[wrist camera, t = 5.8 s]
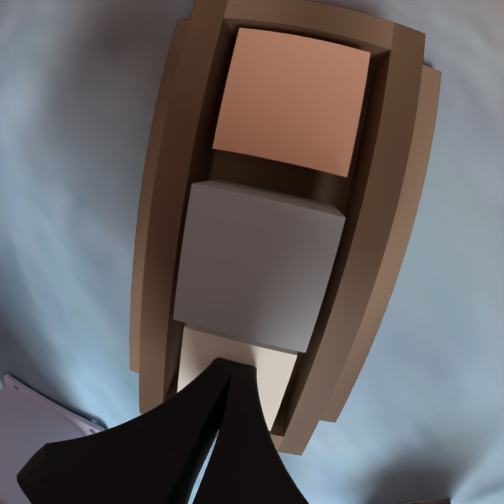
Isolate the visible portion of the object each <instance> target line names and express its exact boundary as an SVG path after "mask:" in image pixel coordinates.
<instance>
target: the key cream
mask: <svg viewBox="0 0 504 504" xmlns="http://www.w3.org/2000/svg"><path fill="white" fill-rule="evenodd" d="M297 353H298V351H295V350H290V349H285V348H281V347H277V346H272V345H268V344H264V343H259V342H255V341H251V340H247V339H243V338H239V337H235V336H231V335H227V334H224V333H220V332H216V331H212V330H209V329H205V328H201V327H198V326H194V325H191V324H186V325H185V326H184V332H183V340H182V349H181V358H180V368H179V378H178V389H177V392H179V391H180V390H181V389H183V388H184V387H185V386H186V385H188V384H189V383H190V382H191V381H192V380H194V379H195V378H196V377H197V376H198V375H199V374H200V373H201V372H203V371H204V370H205V369H206V368H207V367H208V366H209V364H210V363H211V362H212V361H213V360H214V359H215V358H217V357H220V358H224V359H227V360H231V361H235V362H239V363H243V364H247V365H251V366H255V368H256V369H257V386H258V392H259V398H260V402H261V406H262V410H263V414H264V418H265V421H266V424H267V427H268V430H269V431H271V428H272V426H273V423H274V420H275V418H276V415H277V412H278V410H279V407H280V404H281V401H282V399H283V396H284V393H285V390H286V387H287V384H288V382H289V379H290V376H291V373H292V370H293V367H294V364H295V361H296V358H297Z"/></svg>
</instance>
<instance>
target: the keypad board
mask: <svg viewBox="0 0 504 504" xmlns="http://www.w3.org/2000/svg"><path fill="white" fill-rule="evenodd" d="M239 28H247V29H256V30H264V31H272V32H279V33H285V34H291V35H297V36H302V37H308V38H313V39H318V40H322V41H327V42H331V43H335V44H340V45H344V46H348V47H351V48H355V49H359V50H362V51H366V52H369V53H370V59H369V66H368V72H367V78H366V84H365V90H364V96H363V102H362V107H361V112H360V118H359V123H358V128H357V133H356V138H355V143H354V148H353V153H352V157H351V162H350V166H349V171H348V175H347V177H343V176H339V175H334V174H330V173H326V172H322V171H318V170H314V169H310V168H305V167H301V166H297V165H292V164H288V163H283V162H279V161H274V160H269V159H264V158H259V157H254V156H249V155H244V154H239V153H233V152H228V151H223V150H218V149H213V148H212V147H213V142H214V137H215V132H216V127H217V123H218V118H219V113H220V108H221V104H222V99H223V95H224V90H225V86H226V81H227V77H228V73H229V69H230V64H231V60H232V56H233V52H234V48H235V44H236V40H237V36H238V32H239ZM424 46H425V34H424V33H422V32H419V31H417V30H414V29H411V28H409V27H406V26H403V25H400V24H397V23H394V22H391V21H388V20H385V19H382V18H379V17H375V16H372V15H369V14H365V13H361V12H358V11H354V10H350V9H346V8H342V7H338V6H333V5H328V4H324V3H319V2H313V1H308V0H196V3H195V6H194V9H193V12H192V16H191V19H178V22H177V25H176V28H175V32H174V35H173V39H172V42H171V46H170V49H169V53H168V57H167V61H166V65H165V69H164V73H163V77H162V81H161V85H160V89H159V94H158V98H157V103H156V108H155V112H154V117H153V122H152V127H151V133H150V138H149V143H148V149H147V155H146V161H145V167H144V174H143V180H142V187H141V195H140V202H139V210H138V219H137V228H136V238H135V249H134V261H133V274H132V291H131V313H130V370H132V371H134V372H137V373H139V407H140V413H142V414H144V413H146V412H148V411H150V410H152V409H153V408H155V407H157V406H158V405H160V404H161V403H163V402H165V401H166V400H167V399H169V398H170V397H172V396H173V395H175V394H176V393H177V389H178V378H179V368H180V358H181V349H182V340H183V332H184V326H185V325H186V324H187V323H184V322H180V321H177V320H174V319H173V315H174V306H175V297H176V288H177V280H178V272H179V265H180V257H181V250H182V243H183V236H184V229H185V222H186V216H187V210H188V203H189V197H190V191H191V185H192V183H198V182H204V181H209V180H215V179H219V180H224V181H229V182H234V183H239V184H243V185H248V186H253V187H258V188H262V189H267V190H272V191H276V192H281V193H285V194H289V195H294V196H298V197H302V198H306V199H311V200H315V201H319V202H323V203H327V204H331V205H334V206H335V207H336V208H337V209H338V210H339V211H340V212H341V213H342V214H343V215H344V216H345V218H346V219H345V222H344V226H343V230H342V234H341V238H340V242H339V245H338V249H337V253H336V256H335V260H334V263H333V267H332V270H331V274H330V277H329V281H328V284H327V287H326V291H325V294H324V297H323V301H322V304H321V307H320V310H319V314H318V317H317V320H316V323H315V326H314V329H313V332H312V335H311V338H310V341H309V344H308V347H307V350H306V353H304V352H299V351H298V353H297V358H296V361H295V364H294V367H293V370H292V373H291V376H290V379H289V382H288V384H287V387H286V390H285V393H284V396H283V399H282V401H281V404H280V407H279V410H278V412H277V415H276V418H275V420H274V423H273V426H272V428H271V431H269V433H270V436H271V438H272V441H273V443H274V446H275V448H276V450H277V452H283V453H289V454H295V455H302V453H303V451H304V450H305V448H306V446H307V444H308V442H309V440H310V438H311V436H312V434H313V432H314V430H315V428H316V426H317V424H318V422H319V420H322V421H328V422H336V420H337V418H338V417H339V415H340V413H341V411H342V409H343V407H344V405H345V403H346V401H347V399H348V397H349V395H350V393H351V390H352V388H353V386H354V384H355V382H356V380H357V378H358V376H359V373H360V371H361V369H362V367H363V364H364V362H365V360H366V358H367V355H368V353H369V351H370V348H371V346H372V344H373V341H374V339H375V336H376V334H377V331H378V329H379V326H380V324H381V321H382V319H383V316H384V313H385V311H386V308H387V305H388V303H389V300H390V297H391V294H392V291H393V289H394V286H395V283H396V280H397V277H398V274H399V271H400V268H401V265H402V262H403V258H404V255H405V252H406V249H407V245H408V242H409V238H410V235H411V231H412V228H413V224H414V221H415V217H416V213H417V209H418V205H419V201H420V197H421V193H422V189H423V184H424V180H425V175H426V171H427V166H428V161H429V156H430V151H431V145H432V140H433V134H434V128H435V121H436V115H437V107H438V100H439V92H440V82H441V71H438V70H436V69H433V68H431V67H428V66H426V65H423V57H424ZM218 433H219V430H218ZM218 433H217V435H216V438H217V437H218Z"/></svg>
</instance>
